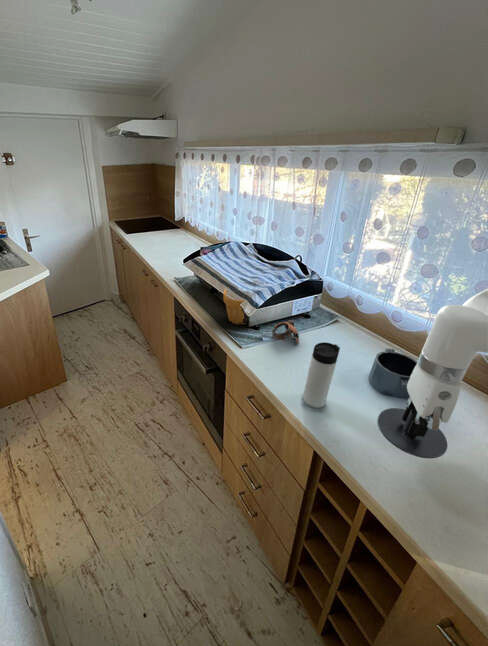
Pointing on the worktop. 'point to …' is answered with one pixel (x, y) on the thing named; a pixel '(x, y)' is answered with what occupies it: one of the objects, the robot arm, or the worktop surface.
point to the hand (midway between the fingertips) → (412, 427)
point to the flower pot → (234, 309)
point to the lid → (411, 444)
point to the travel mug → (320, 374)
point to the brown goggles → (289, 330)
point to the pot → (392, 373)
